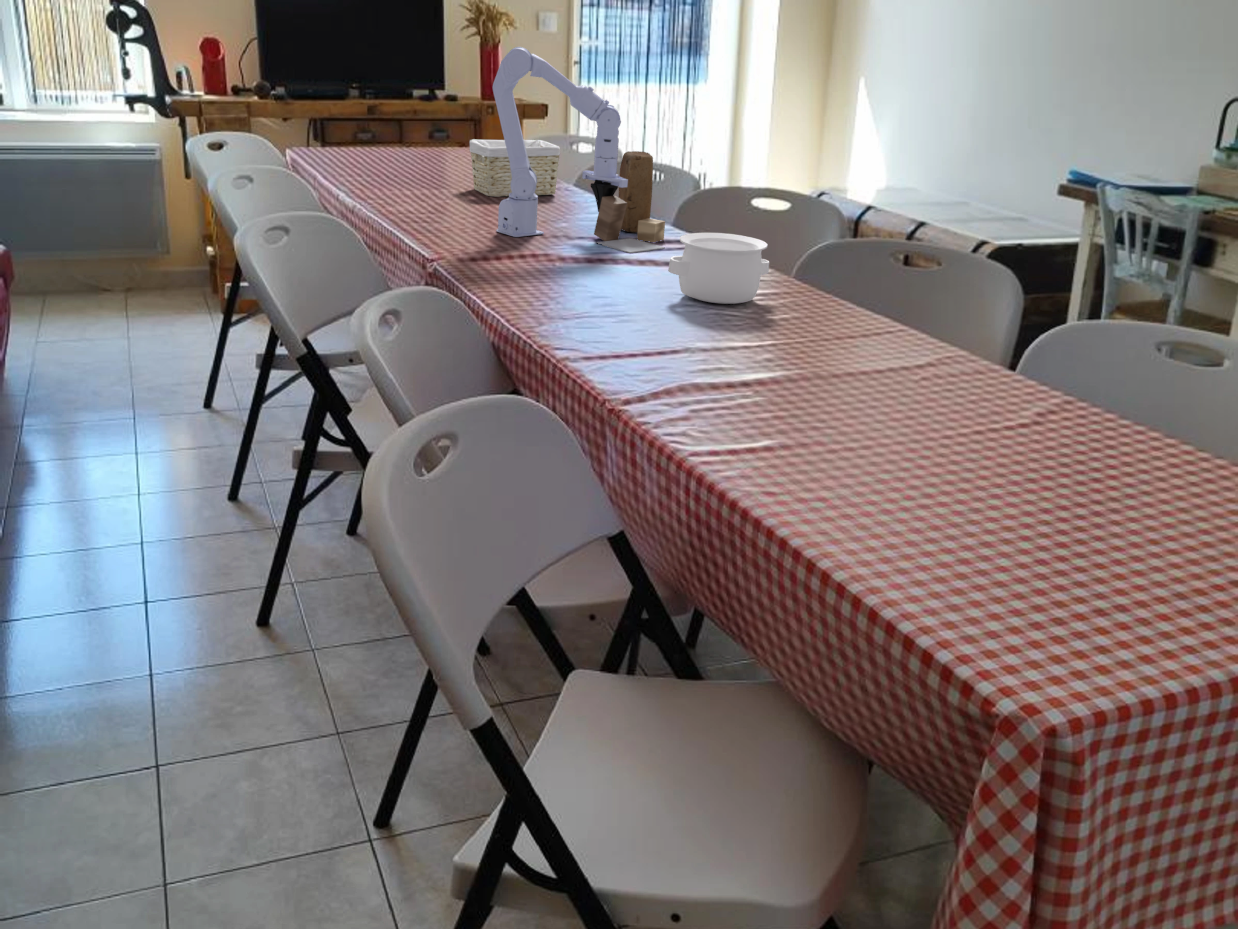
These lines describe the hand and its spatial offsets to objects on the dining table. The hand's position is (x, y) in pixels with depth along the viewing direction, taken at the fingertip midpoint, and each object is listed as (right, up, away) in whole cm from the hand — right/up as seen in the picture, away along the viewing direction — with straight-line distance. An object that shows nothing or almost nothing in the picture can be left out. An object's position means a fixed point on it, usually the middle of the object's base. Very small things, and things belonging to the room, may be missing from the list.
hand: (602, 212), depth 289 cm
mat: (+7, -9, -5) cm, 13 cm away
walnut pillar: (+1, -6, +1) cm, 6 cm away
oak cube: (+12, -6, +4) cm, 14 cm away
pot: (+25, -29, -48) cm, 62 cm away
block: (+8, -2, +15) cm, 17 cm away
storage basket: (-28, +18, +56) cm, 66 cm away
